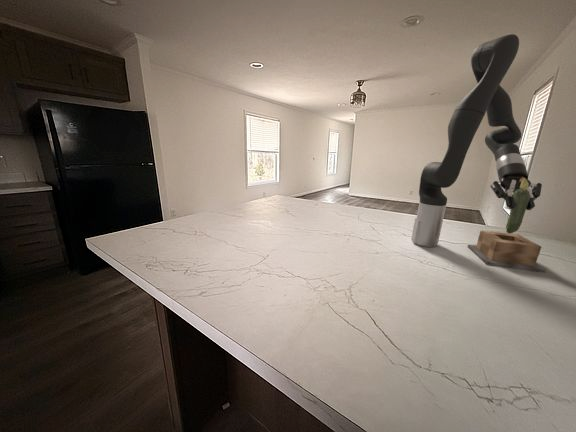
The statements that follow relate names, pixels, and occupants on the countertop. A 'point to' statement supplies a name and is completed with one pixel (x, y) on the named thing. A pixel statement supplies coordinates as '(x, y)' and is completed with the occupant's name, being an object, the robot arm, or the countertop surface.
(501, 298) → the countertop surface
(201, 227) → the countertop surface
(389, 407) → the countertop surface
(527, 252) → the holder
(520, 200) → the vegetable
